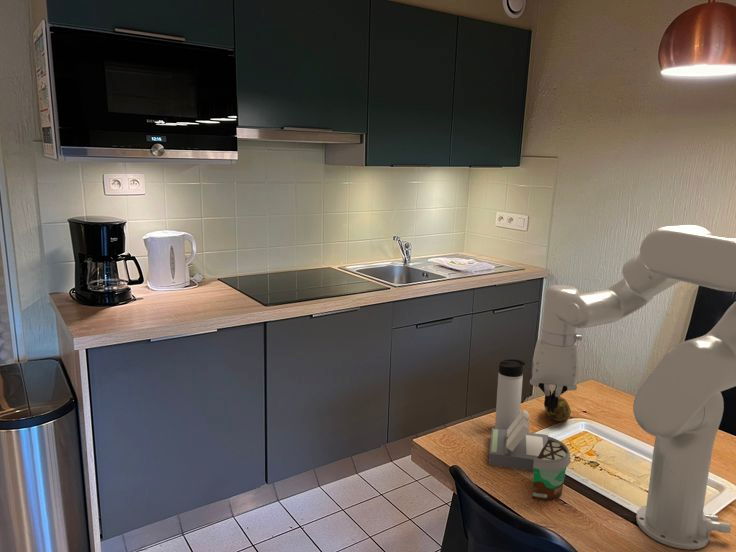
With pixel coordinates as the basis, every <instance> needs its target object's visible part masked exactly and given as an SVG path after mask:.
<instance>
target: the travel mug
mask: <svg viewBox="0 0 736 552" xmlns="http://www.w3.org/2000/svg"><path fill="white" fill-rule="evenodd" d="M525 365H526V362H525V360H520V359H512V358H509V359H504V360H501V361H500V362H499V364H498V371H497V372H498V373H497V375H498V376H497V389H496V390H497V391H496V407H495V408H496V409H495V419H494V421H495V422H494V423H495V424H494V428H497V429H505V430H507V429H508V428H509V427H510V426H511V424H512V423H513V422H514V420H515V419H516V418H517V416H518V415H519V414H520V413H521V408H522V407H521V406H522V393H523V379H524V378H523V377H524V376H523V375H524V367H523V366H525Z"/></svg>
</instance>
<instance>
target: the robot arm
mask: <svg viewBox="0 0 736 552" xmlns="http://www.w3.org/2000/svg"><path fill="white" fill-rule="evenodd" d="M621 269H622V270H621V271H622V272H621V273H622V276H623V277H622V279H620V280H619V281H617V282H616V283H614V284H613V285H611V286H610V287H609V286H608V287H607V288H605V289H603V290H595V291H590V292H582V293H581V292H580V291H579V289H577V288H576V287H575V286H571V285H566V284H552V285H550V286H548V287H547V288H546V290H545V296H544V303H543V305H544V307H543V315H542V327H541V335H540V338H539V339H537V340H536V343H535V347H534V350H533V351H534V352H533V357H532V363H531V376H530V380H529V384H530V385H531V386H534V387H537V388H539V389H540V390H541V391H542V392H543V394H544V402H543V406H545V407H547V412H550V411H551V412H554V410H555V408H557V407H558V398H559V397H561V395H563V394H564V393H566V392H568V391H569V392H570V391H576V390H577V389H578V387H577V380H578V370H579V368H578V367H579V356H578V355H579V354H578V353H579V348H578V344H577V343H576V342H578V341H579V342H582V339H583V335H581V334H578V333H577V329H588V328H593V327H597V326H601V325H606V324H612V323H615V322H618V321H620V320H622V319H624V318H626V317H628V316H630V315H631V314H633V313H636V311H639V310H640V309H642V308H643V307H645V306H646V305H647V304H648V303H649V302H650V301H652V300H653V298H654V297H655V296H657V295H658V294H660V293H663V292H664V291H665V290H667V289H669V288H670V287H673V286H674V285H676V284H679V282H684V283H688V284H691V285H697V286H700V287H704V288H709V289H713V290H716V291H721V292H722V291H723V292H731V293H732V292H734V293H736V238H728V237H721V236H715V235H714V234H713V233H712V232H711V231H710V230H708V229H707V228H705V227H703V226H700V225H695V224H683V225H670V226H669V225H668V226H661V227H659V228H656V229H654V230H652V231H650V232H649V233H648V234H647V235H646V236H645V237H644V238H643V240H642V241H641V245H640V247H639V253H637V254H636V255H634V256H633V257H631V258H629V259H628V260H626V262H624V264H623V266H622V268H621ZM550 385H554V386H555V387H554V390H553V392H552V390H551V389H550V388H551V387H550ZM734 387H736V301H734V302H733V304H731V305H730V306H729V307H728V308H727V310H726V311H725V312H724V314H723V315H722V317H721V318H720V319H719V320H718V322H717V323H716V324H715V325H714V326H713V327H712V328H711V330H709V331H708V332H707V333H706V334H704V335H702V336H699V337H696V338H695V337H694V338H692V339H688V340H685V341H682V342H680V343H678V344H676V345H674V346H673V347H672V348H671V349H669V350H668V351H667V352H666V353H665V354H664V356H663V357H662V358H661V359H660V361H659V362H658V363H657V365H656V366H655V368H654V369H653V370H652V371H651V373H650V374H649V375H648V376H647V378H646V379H645V381H644V382H643V383H642V385H641V386H640V387H639V389H638V390H637V392H636V394H635V397H634V400H633V405H632V406H633V408H632V409H633V411H632V412H633V416H634V419H635V420H636V423H637V425H638V426H639V427H640V428H641V429H642V430H643V431H644V432H645V433H647V434H649V435H650V436H653V437H655V439H654V445H653V450H652V457H651V467H650V474H649V475H650V476H649V482H648V483H649V484H648V491H647V492H648V493H647V500H646V505H645V506H641V507H640V508H639V509H638V510H637V511H636V519H635V520H636V523H637V525H638V527H639V528H640V529H641V530H642V532H644V533H645V534H646V535H647V536H649V538H651V539H653V540H655V541H657V542H659V543H660V544H664V545H666V546H669V547H672V548H675V549H680V550H699V549H702V548H704V547H706V546H707V545H708V543H709V540H710V533H712V531H714V532H717V533H724V534H731V531H732V529H731V528H732V527H731V524H730V522H727V521H720V520H719V517H718V516H719V515H717V514H716V515H715V514H712V513H711V514H710V513H709V514H708V513H705V512H704V506H705V500H706V495H707V487H708V480H709V474H710V467H711V462H712V455H713V449H714V444H715V440H716V436H717V434H718V430H719V428H720V425H721V422H722V419H723V415H724V414H723V413H724V410H725V409H724V408H725V407H724V405H725V404H724V403H725V402H724V397H723V395H722V392H724V391H726V390H729V389H732V388H734ZM545 407H544V408H545ZM547 412H546V413H547Z"/></svg>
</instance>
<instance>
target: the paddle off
mask: <svg viewBox="0 0 736 552" xmlns="http://www.w3.org/2000/svg"><path fill="white" fill-rule="evenodd" d="M529 431H530V422H529V420H528V421H526V420H525V419H523V420H522V421H521V422H520V424H519V425H518V426H517V428H516V429H515V430H514V431H513V433H512V434H511V435H510V437H509V438H508V439H507V443H506V444H505V454H506V455H508V454H509V450H511V451H513V450H514V449H515V447H516V446H517V445H518V444H519V442H520V441H521V440H522V439H523V437H524V436H525V435H526V434H527V432H528V433H529Z"/></svg>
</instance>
